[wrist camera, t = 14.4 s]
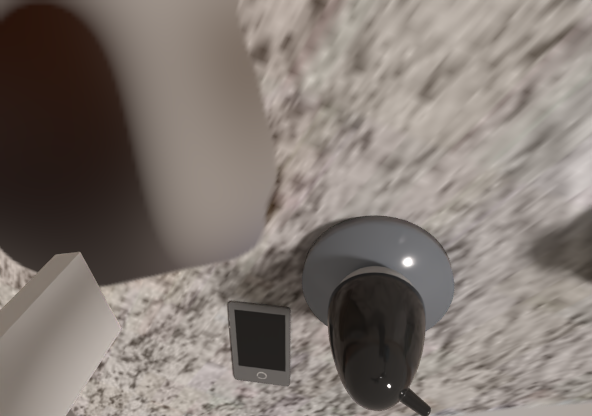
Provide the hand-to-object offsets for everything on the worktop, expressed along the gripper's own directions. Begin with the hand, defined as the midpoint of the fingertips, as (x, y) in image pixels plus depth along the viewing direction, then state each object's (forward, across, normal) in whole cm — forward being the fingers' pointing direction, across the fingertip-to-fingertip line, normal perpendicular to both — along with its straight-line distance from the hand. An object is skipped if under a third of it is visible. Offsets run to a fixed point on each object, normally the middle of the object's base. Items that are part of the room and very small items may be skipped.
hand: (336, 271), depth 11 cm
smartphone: (+35, -20, -38) cm, 56 cm away
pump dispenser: (+33, -3, -28) cm, 43 cm away
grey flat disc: (+35, -3, -28) cm, 45 cm away
